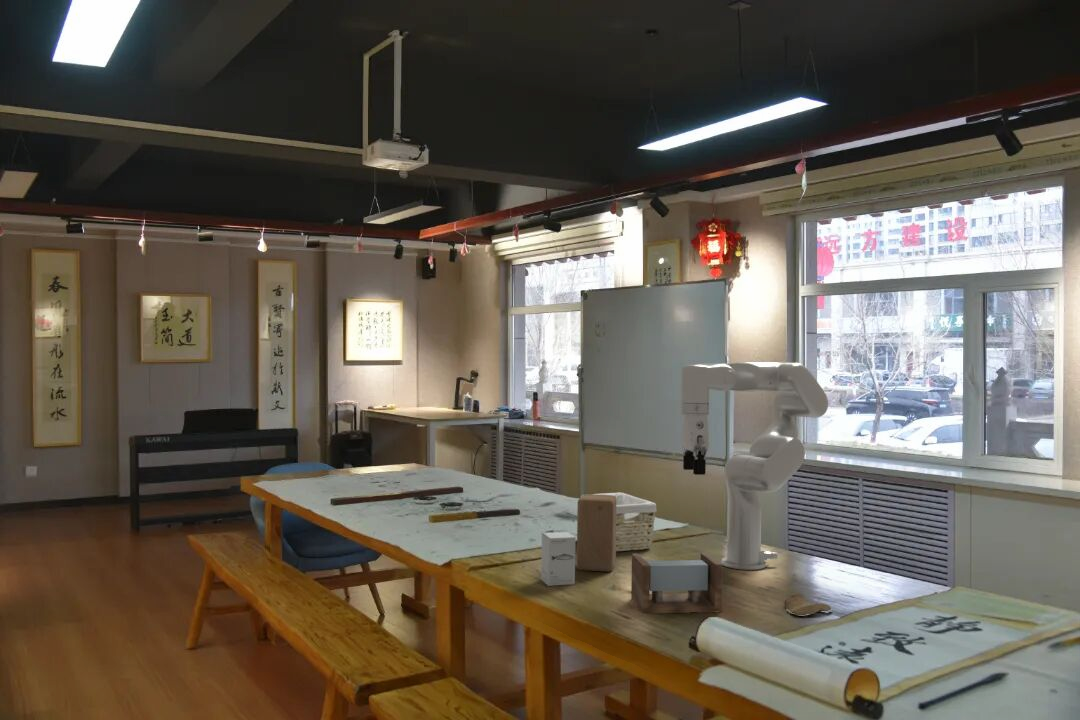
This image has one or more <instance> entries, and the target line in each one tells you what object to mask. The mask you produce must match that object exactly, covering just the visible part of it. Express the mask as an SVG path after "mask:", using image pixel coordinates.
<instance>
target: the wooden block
mask: <svg viewBox="0 0 1080 720" xmlns="http://www.w3.org/2000/svg"><path fill="white" fill-rule="evenodd" d="M595 494H596V493H594V494H591V493H590V494H589V493H585V494H582V495H583V496H582V495H581V496H582V497H581V496H580V497H579V498H578V500H577V512H576V513H577V515H576V516H577V518H576V519H577V524H576V526H577V527H576V533H577V534H576V539H577V540H576V569H578V570H579V571H590V572H606V573H609V572H612V571H613V568H614V567H615V565H616V562H617V551H616V505H617V499H616V496H614V495H595Z"/></svg>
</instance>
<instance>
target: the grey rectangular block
mask: <svg viewBox="0 0 1080 720" xmlns="http://www.w3.org/2000/svg"><path fill="white" fill-rule="evenodd" d="M645 561H646V562H647V563H648V564H649V565H650V585H649V592H652V591H663V592H668V591H669V592H675V591H676V592H680V591H682V592H686V591H687V592H688V590H699V591H700V590H708V565H707V564H706V563H705V562H704V561H702V560H701V559H692V560H691V559H690V560H689V559H687V560H686V559H684V560H683V559H681V560H674V559H673V560H645Z"/></svg>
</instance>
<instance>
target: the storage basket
mask: <svg viewBox="0 0 1080 720" xmlns="http://www.w3.org/2000/svg"><path fill="white" fill-rule="evenodd" d="M594 494H595V495H614V496H616V499H617V505H616V552H625V551H627V552H629V551H638V550H648V549H649V550H650V549H651V548H652V546H653V544H652V543H653V539H654V538H653V537H654V525H655V519H656V513H657V504H656V503H655V502H653V501H650V500H647V499H645V498H644V499H643V498H640V497H638V496H637V497H636V496H634V495H631V494H628V493H624V492H622V491H621V492H619V491H618V492H605V493H594ZM583 495H584V494H582V495H581V496H580V498H581V497H582V496H583Z"/></svg>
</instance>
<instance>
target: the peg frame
mask: <svg viewBox="0 0 1080 720" xmlns="http://www.w3.org/2000/svg"><path fill="white" fill-rule="evenodd" d="M700 560H702V561H704V562H705V563H706V564H707V565H708V590H687V592H685V593H684V592H683V593H682V592H679V593H673V592H672V593H663V592H664V591H651V593H650V590H649V585H650V565H649V564H648V563H647V562H646V561H647V560H645V559H644V558H643V557H642V556H641V555H640V554H639V553H632V554H631V594H630V597H631V598H630V599H631V602H632V603H633V604H634V605H635V606H636V608H637V609H638V610H639V611H640V612H642V613H650V614H678V613H679V614H681V613H682V614H685V613H686V614H689V613H690V612H697V613H715V612H714V611H722V610H723V609H722V608H723V607H722V605H723V564H722V563H721V562H720V561H719V560H717V559H716V558H715V557H713V556H712V555H711V554H709V553H708V552H700ZM712 611H713V612H712ZM722 612H723V611H722ZM642 613H641V614H642ZM690 614H691V613H690Z"/></svg>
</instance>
